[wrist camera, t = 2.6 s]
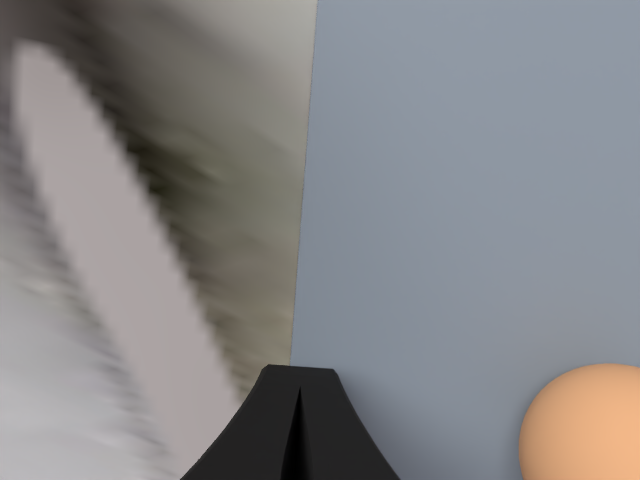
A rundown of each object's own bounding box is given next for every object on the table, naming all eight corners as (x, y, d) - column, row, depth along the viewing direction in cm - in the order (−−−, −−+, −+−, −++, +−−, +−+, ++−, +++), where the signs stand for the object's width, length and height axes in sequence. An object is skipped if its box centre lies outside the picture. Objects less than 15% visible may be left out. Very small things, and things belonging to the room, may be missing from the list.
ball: (635, 474, 12) (748, 627, 9) (481, 463, 12) (541, 615, 9) (680, 336, 11) (829, 454, 8) (512, 324, 11) (594, 439, 8)
